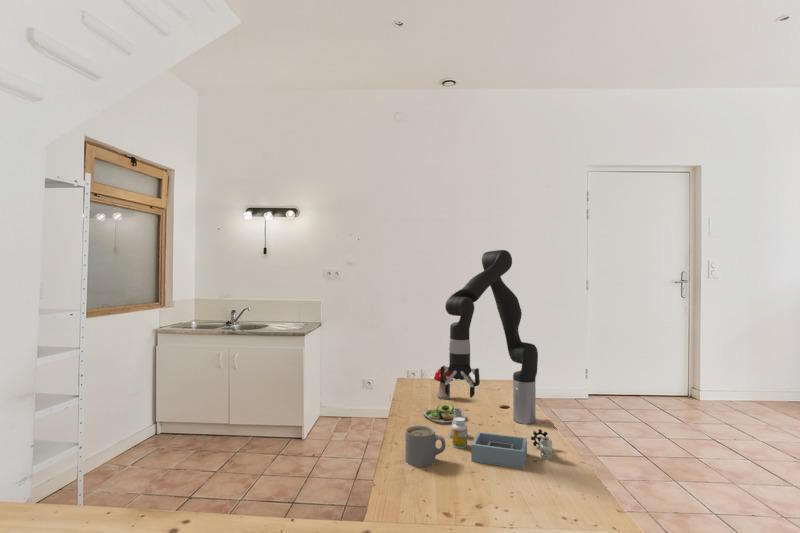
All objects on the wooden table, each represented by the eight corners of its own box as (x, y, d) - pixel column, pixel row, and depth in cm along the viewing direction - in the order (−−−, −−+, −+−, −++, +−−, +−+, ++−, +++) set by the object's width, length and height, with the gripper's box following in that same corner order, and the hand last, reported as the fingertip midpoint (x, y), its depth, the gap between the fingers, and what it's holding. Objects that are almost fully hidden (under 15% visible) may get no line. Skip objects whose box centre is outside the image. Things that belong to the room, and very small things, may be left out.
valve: (557, 461, 149) (549, 447, 161) (557, 441, 149) (549, 429, 161) (537, 460, 150) (530, 447, 162) (537, 441, 150) (530, 428, 162)
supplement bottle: (451, 443, 165) (451, 416, 165) (465, 442, 165) (465, 416, 165) (453, 448, 159) (454, 421, 160) (468, 448, 160) (468, 421, 160)
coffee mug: (403, 466, 145) (403, 435, 145) (407, 454, 155) (407, 425, 155) (445, 468, 143) (445, 437, 143) (445, 456, 153) (445, 426, 153)
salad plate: (477, 423, 188) (477, 412, 188) (439, 429, 181) (439, 417, 181) (454, 410, 206) (454, 400, 206) (419, 415, 199) (419, 404, 199)
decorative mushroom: (430, 398, 224) (430, 368, 224) (439, 394, 231) (439, 365, 232) (448, 401, 218) (448, 371, 219) (456, 397, 226) (456, 368, 226)
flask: (466, 439, 168) (466, 413, 169) (447, 438, 170) (447, 411, 170) (467, 433, 175) (467, 407, 176) (449, 431, 177) (449, 406, 177)
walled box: (478, 447, 161) (478, 431, 161) (526, 453, 155) (526, 437, 155) (471, 461, 149) (471, 444, 149) (524, 468, 143) (524, 451, 143)
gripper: (481, 350, 164) (481, 395, 164) (443, 348, 169) (443, 391, 169) (477, 354, 157) (477, 400, 157) (438, 351, 162) (438, 396, 161)
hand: (459, 395), depth 163 cm, fingers open, 8 cm apart
